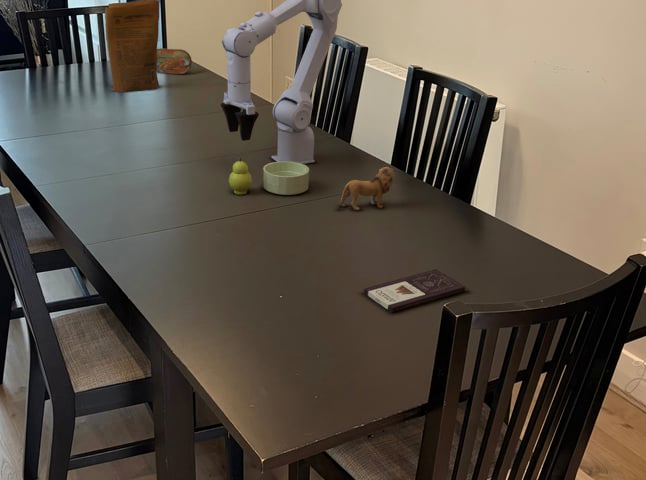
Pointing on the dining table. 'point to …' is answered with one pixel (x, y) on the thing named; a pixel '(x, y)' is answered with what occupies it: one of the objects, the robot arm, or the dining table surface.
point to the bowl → (286, 177)
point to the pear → (240, 177)
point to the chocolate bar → (413, 290)
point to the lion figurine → (369, 188)
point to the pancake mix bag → (133, 44)
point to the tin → (173, 61)
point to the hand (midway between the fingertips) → (239, 135)
